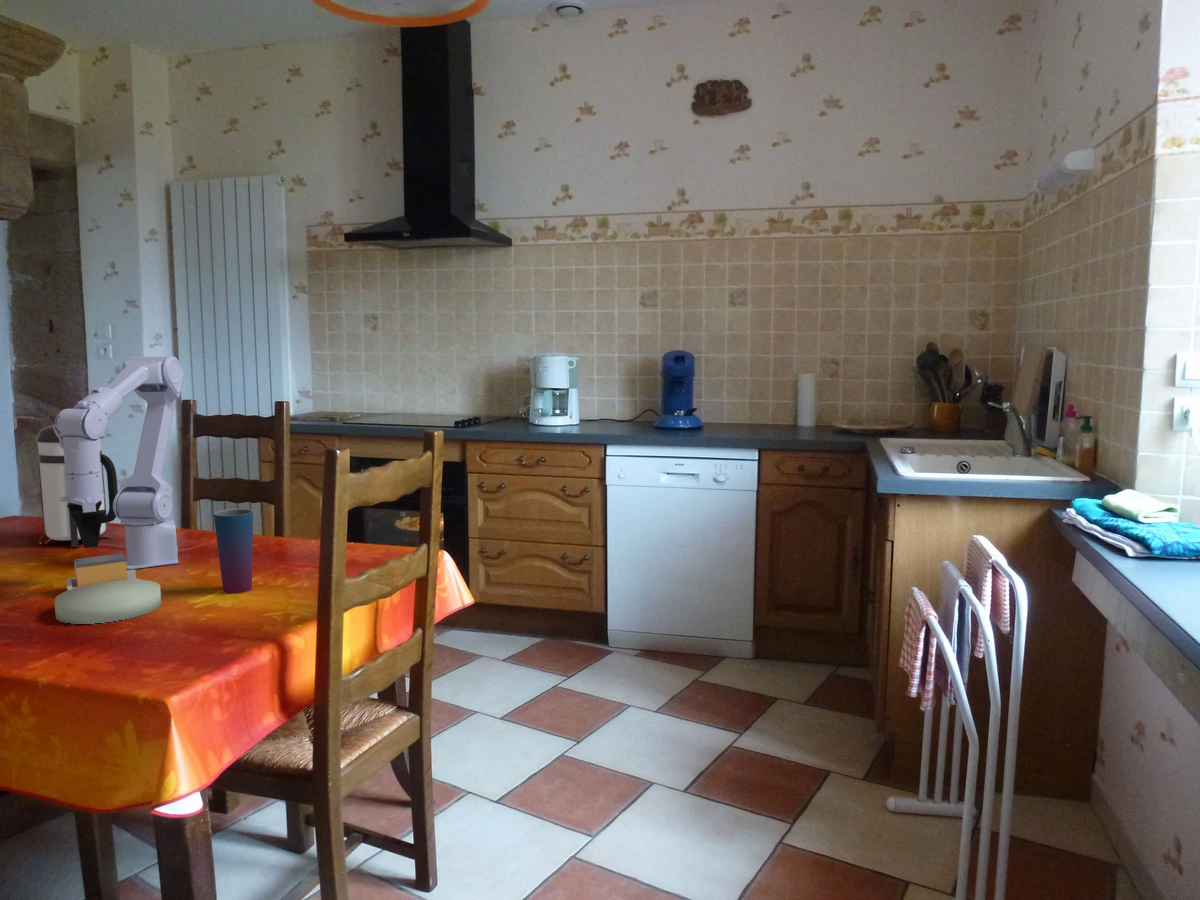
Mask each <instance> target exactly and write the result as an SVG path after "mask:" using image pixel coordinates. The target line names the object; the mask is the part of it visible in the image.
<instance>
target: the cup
mask: <svg viewBox="0 0 1200 900" xmlns="http://www.w3.org/2000/svg"><path fill="white" fill-rule="evenodd" d="M213 521H214V526H215V536H216V542H217V551H218V560H219V567H220V575H221V577H220V578H221V584H222V591H223V593H226V594H231V593H234V594H243V593H246V591H247V592H249V591H251V590H252V589H253V550H254V549H253V546H254V545H253V537H254V535H253V533H254V510H253V509H251V508H250V509H249V508H243V507H242V508H228V509H221V510H218V511H215V512H214V513H213ZM242 592H243V593H242Z"/></svg>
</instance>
